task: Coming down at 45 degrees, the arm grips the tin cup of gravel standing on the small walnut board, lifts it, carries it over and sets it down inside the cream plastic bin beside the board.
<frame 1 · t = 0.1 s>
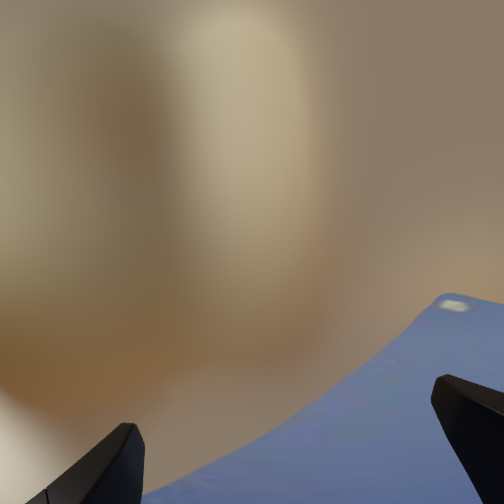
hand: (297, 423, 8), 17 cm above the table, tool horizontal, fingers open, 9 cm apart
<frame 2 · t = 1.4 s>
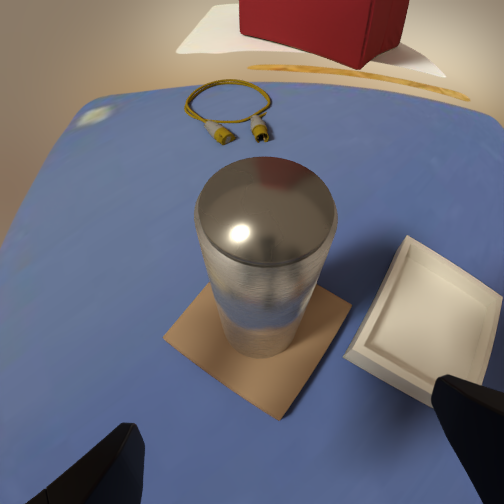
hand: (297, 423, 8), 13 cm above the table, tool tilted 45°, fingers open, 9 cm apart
walnut board: (259, 327, 23), on the table
storage cube: (324, 37, 56), on the table
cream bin: (428, 331, 22), on the table
extension cord: (227, 113, 39), on the table
gravel cup: (260, 323, 22), point 1 cm above the table, touching walnut board
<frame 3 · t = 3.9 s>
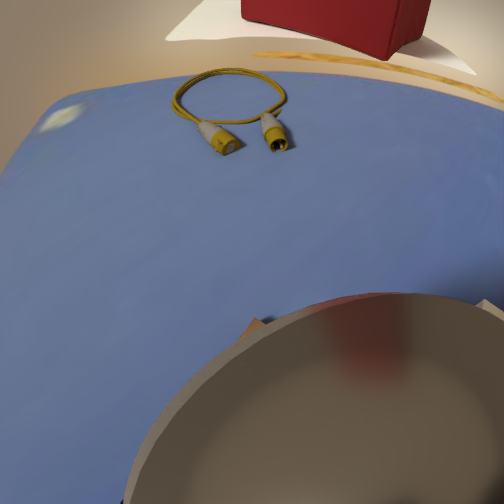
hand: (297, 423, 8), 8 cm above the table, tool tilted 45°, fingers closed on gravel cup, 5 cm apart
storage cube: (339, 25, 46), on the table
extension cord: (229, 111, 29), on the table
gravel cup: (282, 450, 12), point 1 cm above the table, touching gripper, walnut board
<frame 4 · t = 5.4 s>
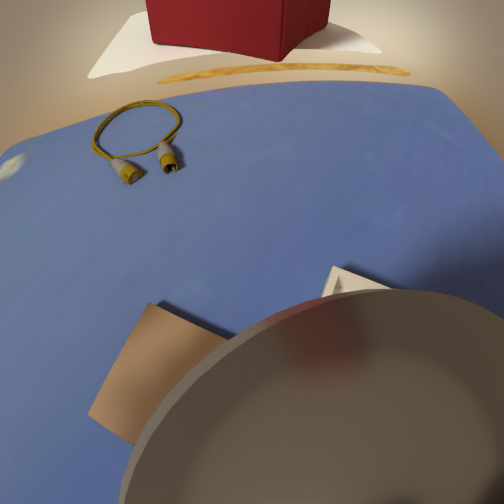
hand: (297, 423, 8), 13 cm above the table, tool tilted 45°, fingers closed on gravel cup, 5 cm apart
walnut board: (178, 394, 20), on the table
storage cube: (244, 31, 53), on the table
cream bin: (370, 370, 21), on the table
extension cord: (136, 142, 34), on the table
gravel cup: (281, 449, 13), point 7 cm above the table, touching gripper
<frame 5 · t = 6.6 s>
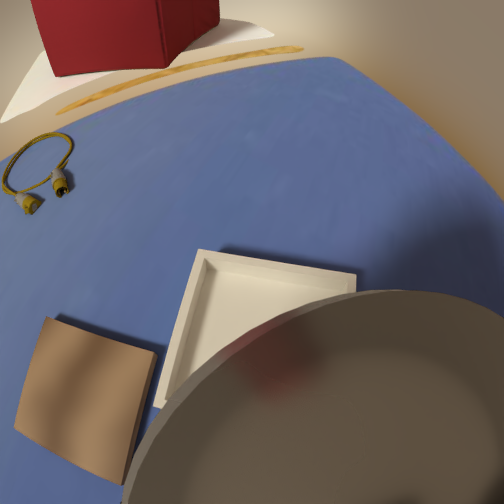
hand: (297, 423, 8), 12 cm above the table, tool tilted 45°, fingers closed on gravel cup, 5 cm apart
walnut board: (81, 398, 18), on the table
storage cube: (138, 46, 52), on the table
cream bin: (261, 349, 21), on the table
extension cord: (38, 175, 32), on the table
gravel cup: (282, 450, 12), point 6 cm above the table, touching gripper
when the fingers open (9 cm above the table, at t = 8.2 s): gravel cup drops 1 cm, resting on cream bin.
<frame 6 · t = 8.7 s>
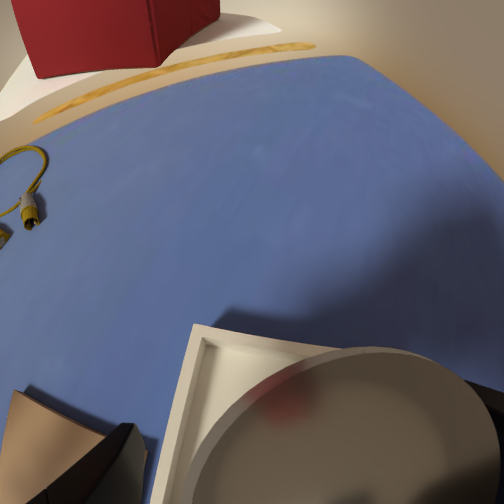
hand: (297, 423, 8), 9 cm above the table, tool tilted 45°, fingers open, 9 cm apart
walnut board: (63, 487, 12), on the table
storage cube: (129, 43, 46), on the table
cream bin: (278, 447, 15), on the table
extension cord: (9, 198, 26), on the table
gravel cup: (279, 450, 14), point 1 cm above the table, touching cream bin
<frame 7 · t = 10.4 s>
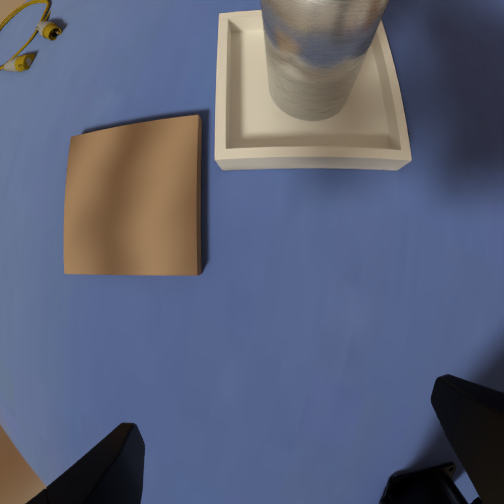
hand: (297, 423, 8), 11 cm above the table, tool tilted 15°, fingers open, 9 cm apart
walnut board: (129, 198, 20), on the table
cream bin: (307, 90, 19), on the table
extension cord: (20, 42, 22), on the table
gravel cup: (308, 86, 18), point 1 cm above the table, touching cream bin
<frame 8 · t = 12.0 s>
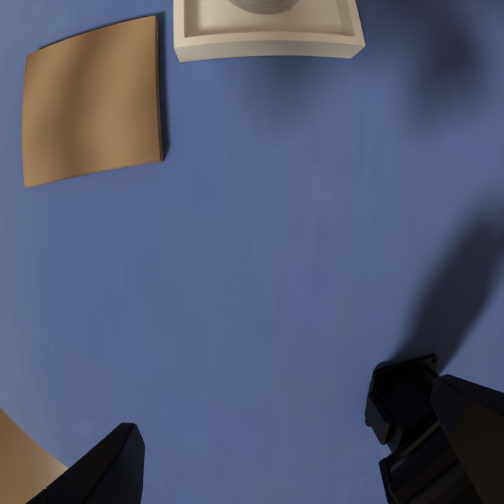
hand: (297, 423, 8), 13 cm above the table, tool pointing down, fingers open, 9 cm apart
walnut board: (87, 100, 17), on the table
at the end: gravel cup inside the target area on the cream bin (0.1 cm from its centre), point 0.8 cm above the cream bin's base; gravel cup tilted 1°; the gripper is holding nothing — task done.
